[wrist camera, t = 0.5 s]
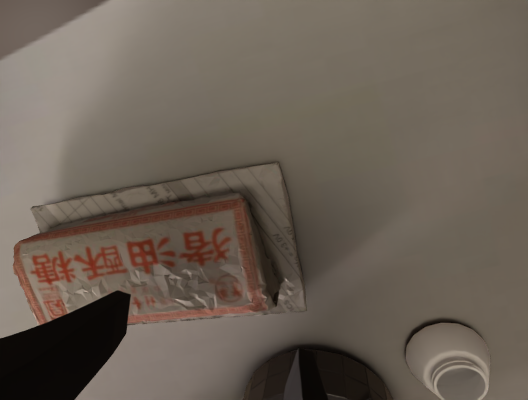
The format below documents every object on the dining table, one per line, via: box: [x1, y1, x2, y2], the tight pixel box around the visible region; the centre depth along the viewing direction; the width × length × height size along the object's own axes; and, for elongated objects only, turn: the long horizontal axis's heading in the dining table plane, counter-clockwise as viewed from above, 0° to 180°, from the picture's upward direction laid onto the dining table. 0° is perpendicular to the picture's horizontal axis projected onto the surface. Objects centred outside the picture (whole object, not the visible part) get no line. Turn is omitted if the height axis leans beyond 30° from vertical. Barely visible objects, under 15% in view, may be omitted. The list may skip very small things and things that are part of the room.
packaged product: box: [13, 162, 307, 325], centre depth 21 cm, size 18×5×10 cm
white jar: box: [406, 323, 490, 400], centre depth 21 cm, size 5×3×5 cm
